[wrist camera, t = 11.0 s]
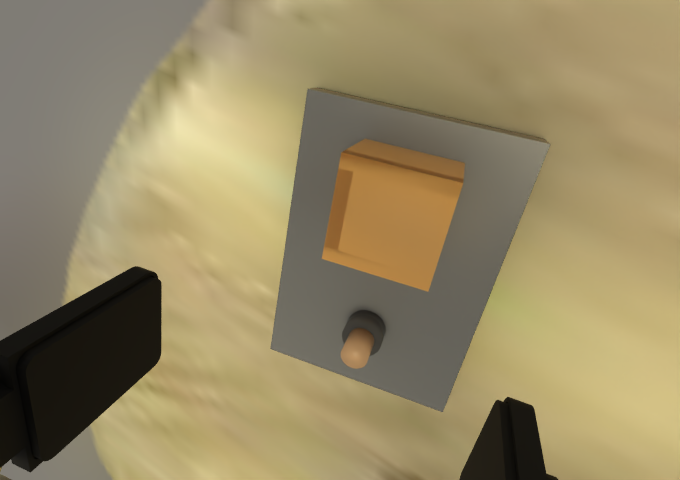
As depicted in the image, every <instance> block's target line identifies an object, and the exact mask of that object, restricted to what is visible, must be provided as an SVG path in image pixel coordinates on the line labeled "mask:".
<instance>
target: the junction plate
mask: <svg viewBox="0 0 680 480" xmlns="http://www.w3.org/2000/svg"><path fill="white" fill-rule="evenodd" d="M363 139H369V140H373V141H377V142H381V143H385V144H389V145H393V146H398V147H402V148H406V149H410V150H414V151H418V152H422V153H426V154H431V155H435V156H439V157H443V158H447V159H451V160H455V161H459V162H463V163H465V168H464V181H463V186H462V189H461V192H460V195H459V198H458V201H457V204H456V207H455V210H454V214H453V217H452V220H451V223H450V226H449V229H448V232H447V235H446V238H445V242H444V245H443V248H442V251H441V254H440V257H439V260H438V263H437V266H436V269H435V273H434V276H433V279H432V282H431V285H430V288H429V291H428V292H427V291H424V290H421V289H418V288H414V287H411V286H408V285H405V284H402V283H398V282H395V281H392V280H389V279H385V278H382V277H379V276H376V275H372V274H369V273H366V272H363V271H359V270H356V269H353V268H350V267H347V266H343V265H340V264H337V263H334V262H330V261H327V260H324V259H322V254H323V249H324V244H325V238H326V233H327V227H328V222H329V216H330V211H331V206H332V200H333V195H334V189H335V184H336V178H337V173H338V168H339V162H340V157H341V152H343V151H344V150H346V149H348V148H350V147H351V146H353V145H355V144H357V143H358V142H360V141H362V140H363ZM549 147H550V143H549V142H547V141H546V140H545V139H542V138H537V137H533V136H529V135H524V134H520V133H515V132H511V131H506V130H502V129H498V128H493V127H489V126H484V125H480V124H476V123H471V122H467V121H462V120H458V119H453V118H449V117H445V116H440V115H436V114H431V113H427V112H423V111H418V110H414V109H409V108H405V107H400V106H396V105H392V104H387V103H383V102H378V101H374V100H369V99H365V98H361V97H356V96H352V95H347V94H343V93H339V92H334V91H330V90H325V89H321V88H312V89H308V90H307V97H306V104H305V111H304V118H303V125H302V132H301V139H300V146H299V153H298V160H297V167H296V174H295V181H294V188H293V195H292V202H291V209H290V216H289V223H288V230H287V237H286V244H285V251H284V258H283V265H282V272H281V279H280V286H279V293H278V300H277V307H276V314H275V321H274V328H273V335H272V342H271V349H272V350H275V351H278V352H280V353H283V354H286V355H288V356H291V357H294V358H297V359H299V360H302V361H305V362H307V363H310V364H313V365H316V366H318V367H321V368H324V369H327V370H329V371H332V372H335V373H337V374H340V375H343V376H346V377H348V378H351V379H354V380H356V381H359V382H362V383H365V384H367V385H370V386H373V387H375V388H378V389H381V390H384V391H386V392H389V393H392V394H395V395H397V396H400V397H403V398H405V399H408V400H411V401H414V402H416V403H419V404H422V405H424V406H427V407H430V408H433V409H435V410H438V411H441V412H443V410H444V408H445V405H446V403H447V400H448V398H449V395H450V393H451V390H452V388H453V385H454V383H455V380H456V378H457V375H458V373H459V370H460V368H461V365H462V363H463V360H464V358H465V355H466V353H467V350H468V348H469V345H470V343H471V340H472V338H473V335H474V333H475V331H476V328H477V326H478V323H479V321H480V318H481V316H482V313H483V311H484V308H485V306H486V303H487V301H488V298H489V296H490V293H491V291H492V288H493V286H494V283H495V281H496V278H497V276H498V273H499V271H500V268H501V266H502V263H503V261H504V259H505V256H506V254H507V251H508V249H509V246H510V244H511V241H512V239H513V236H514V234H515V231H516V229H517V226H518V224H519V221H520V219H521V216H522V214H523V211H524V209H525V206H526V204H527V201H528V199H529V196H530V194H531V191H532V189H533V186H534V184H535V182H536V179H537V177H538V174H539V172H540V169H541V167H542V164H543V162H544V159H545V157H546V154H547V152H548V149H549Z"/></svg>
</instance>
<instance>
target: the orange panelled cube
mask: <svg viewBox="0 0 680 480" xmlns="http://www.w3.org/2000/svg"><path fill="white" fill-rule="evenodd" d="M464 168H465V163H463V162H459V161H455V160H451V159H447V158H443V157H439V156H435V155H431V154H426V153H422V152H418V151H414V150H410V149H406V148H402V147H398V146H393V145H389V144H385V143H381V142H377V141H373V140H369V139H363V140H362V141H360V142H358V143H357V144H355V145H353V146H351V147H350V148H348V149H346V150H344V151H343V152H341V157H340V162H339V168H338V173H337V178H336V184H335V189H334V195H333V200H332V206H331V211H330V216H329V222H328V227H327V233H326V238H325V244H324V249H323V254H322V259H324V260H327V261H330V262H334V263H337V264H340V265H343V266H347V267H350V268H353V269H356V270H359V271H363V272H366V273H369V274H372V275H376V276H379V277H382V278H385V279H389V280H392V281H395V282H398V283H402V284H405V285H408V286H411V287H414V288H418V289H421V290H424V291H427V292H428V291H429V288H430V285H431V282H432V279H433V276H434V273H435V269H436V266H437V263H438V260H439V257H440V254H441V251H442V248H443V245H444V242H445V238H446V235H447V232H448V229H449V226H450V223H451V220H452V217H453V214H454V210H455V207H456V204H457V201H458V198H459V195H460V192H461V189H462V186H463V181H464Z"/></svg>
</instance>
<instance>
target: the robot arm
mask: <svg viewBox="0 0 680 480" xmlns="http://www.w3.org/2000/svg"><path fill="white" fill-rule="evenodd" d="M160 356H161V281H160V280H159V279H158V276H157V274H156V273H155V272H152V271H149V270H146V269H144V268H141V267H136V266H135V267H132V268H130V269H129V270H127V271H125V272H123V273H121V274H120V275H118V276H116V277H114V278H112V279H111V280H109V281H107V282H105V283H103V284H102V285H100V286H98V287H96V288H94V289H93V290H91V291H89V292H87V293H85V294H84V295H82V296H80V297H78V298H76V299H75V300H73V301H71V302H69V303H67V304H66V305H64V306H62V307H60V308H58V309H57V310H55V311H53V312H51V313H49V314H48V315H46V316H44V317H42V318H41V319H39V320H37V321H35V322H33V323H31V324H30V325H28V326H26V327H24V328H22V329H21V330H19V331H17V332H15V333H13V334H12V335H10V336H8V337H6V338H5V339H3V340H1V341H0V471H1V468H2V466H3V465H4V464H5V463H7V462H8V461H9V460H10V459H11V460H12V463H13V464H15V465H17V466H19V467H21V468H23V469H25V470H27V471H29V472H31V471H33V470H34V469H35V468H36V467H37V466H38V465H39V464H40V463H42V462H43V461H48V460H50V459H52V458H53V457H54V456H56V455H57V454H58V453H59V452H60V451H61V450H62V449H63V448H64V447H65V446H66V445H68V444H69V443H70V442H71V441H72V440H73V439H74V438H76V437H77V436H78V435H79V434H80V433H81V432H82V431H83V430H84V429H85V428H87V427H88V426H89V425H90V424H91V423H92V422H93V421H94V420H95V419H97V418H98V417H99V416H100V415H101V414H102V413H103V412H104V411H105V410H107V409H108V408H109V407H110V406H111V405H112V404H113V403H114V402H115V401H116V400H118V399H119V398H120V397H121V396H122V395H123V394H124V393H125V392H126V391H128V390H129V389H130V388H131V387H132V386H133V385H134V384H135V383H136V382H137V381H139V380H140V379H141V378H142V377H143V376H144V375H145V374H146V373H147V372H149V371H150V370H151V369H152V368H153V367H154V366H155V365H156V364H157V362H158V361H159V359H160ZM0 480H11V479H9V478H7V477H5V476H3V475H1V474H0ZM460 480H558V479H557V477H554V476H551V475H549V474H546V470H545V465H544V459H543V454H542V449H541V443H540V438H539V432H538V427H537V422H536V416H535V411H534V408H533V406H532V405H529V404H526V403H524V402H521V401H518V400H515V399H512V398H509V397H507V398H506V399H505V400H504V402H502V401H499V400H496V401H495V403H494V405H493V407H492V409H491V411H490V414H489V416H488V418H487V420H486V422H485V424H484V426H483V428H482V431H481V433H480V435H479V437H478V439H477V441H476V443H475V445H474V447H473V450H472V452H471V454H470V456H469V458H468V460H467V462H466V464H465V467H464V469H463V471H462V473H461V476H460Z"/></svg>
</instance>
